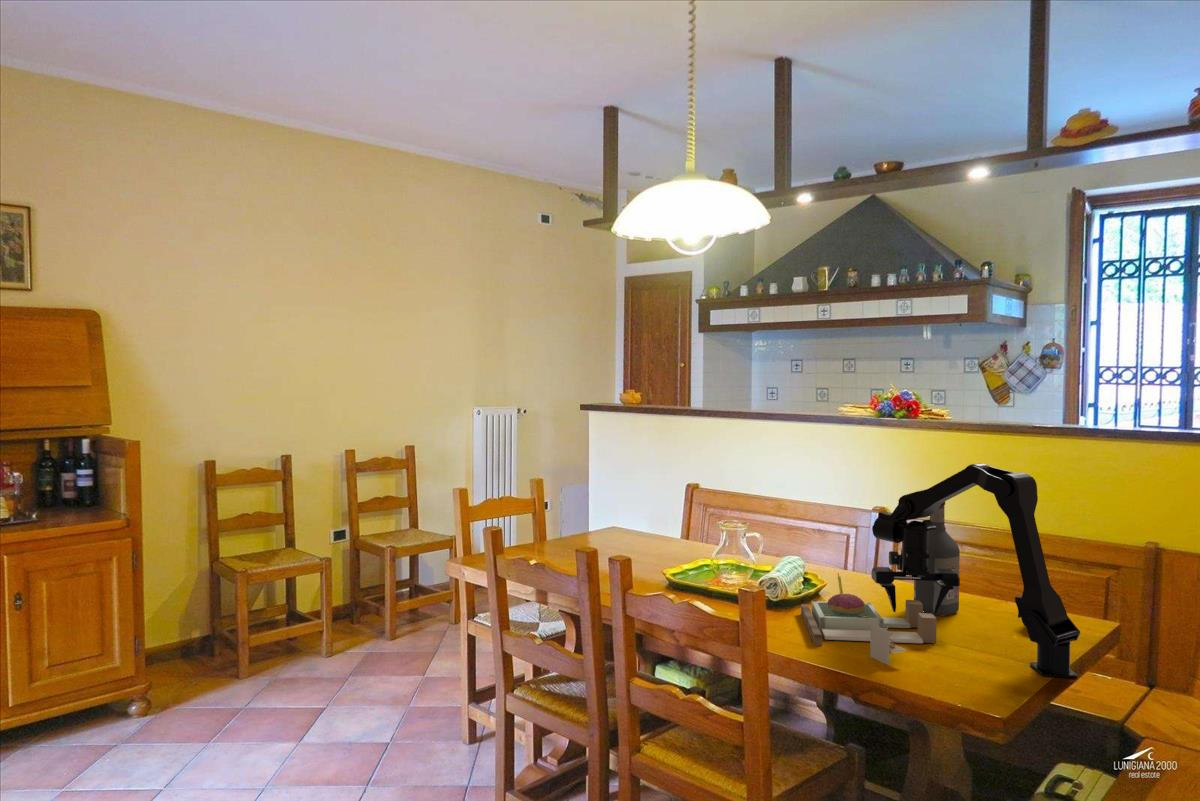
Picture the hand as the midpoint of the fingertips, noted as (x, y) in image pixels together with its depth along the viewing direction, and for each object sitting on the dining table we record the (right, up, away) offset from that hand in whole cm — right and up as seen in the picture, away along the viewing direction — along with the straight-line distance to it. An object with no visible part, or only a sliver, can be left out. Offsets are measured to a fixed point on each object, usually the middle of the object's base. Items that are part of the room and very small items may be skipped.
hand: (914, 612), depth 184 cm
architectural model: (-15, -5, -22) cm, 27 cm away
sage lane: (-11, -3, +1) cm, 11 cm away
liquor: (+11, -3, +13) cm, 17 cm away
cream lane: (-12, -3, -9) cm, 15 cm away
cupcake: (-15, -4, +2) cm, 16 cm away
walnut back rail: (-25, -3, -2) cm, 25 cm away
